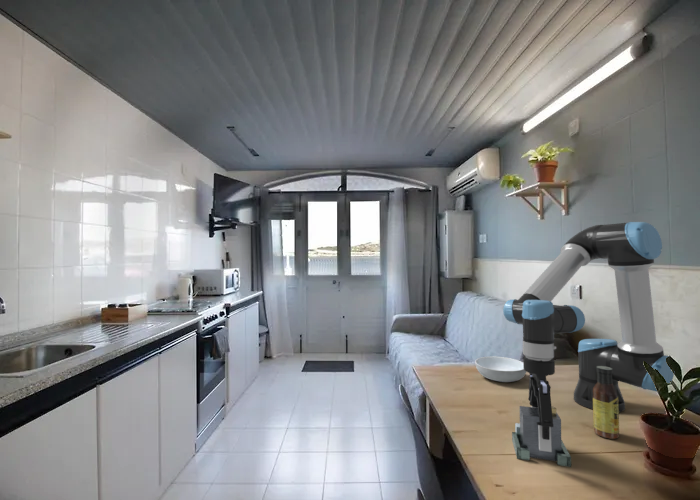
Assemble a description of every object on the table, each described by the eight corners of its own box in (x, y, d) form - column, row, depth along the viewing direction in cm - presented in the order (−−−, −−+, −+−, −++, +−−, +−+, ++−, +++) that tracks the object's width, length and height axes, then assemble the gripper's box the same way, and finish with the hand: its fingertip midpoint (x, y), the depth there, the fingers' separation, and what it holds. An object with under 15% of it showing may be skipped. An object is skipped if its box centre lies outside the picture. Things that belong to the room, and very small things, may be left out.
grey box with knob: (523, 456, 94) (522, 408, 94) (520, 444, 99) (519, 400, 99) (561, 462, 91) (560, 413, 91) (555, 450, 96) (555, 404, 97)
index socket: (561, 447, 98) (560, 438, 98) (571, 467, 88) (571, 457, 89) (512, 440, 101) (512, 431, 101) (517, 458, 92) (517, 449, 92)
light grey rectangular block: (541, 440, 101) (541, 426, 102) (543, 444, 99) (543, 430, 99) (515, 436, 104) (515, 423, 104) (516, 440, 101) (516, 426, 101)
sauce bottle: (620, 442, 100) (619, 372, 100) (594, 436, 103) (592, 369, 104) (617, 432, 106) (616, 366, 106) (592, 427, 109) (591, 363, 109)
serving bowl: (471, 370, 165) (470, 355, 165) (517, 371, 162) (517, 357, 162) (481, 386, 144) (481, 369, 144) (535, 388, 141) (534, 371, 141)
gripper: (566, 370, 83) (568, 465, 82) (544, 348, 105) (546, 423, 104) (531, 367, 85) (533, 460, 84) (517, 346, 107) (518, 420, 106)
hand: (540, 440), depth 94 cm, fingers open, 10 cm apart
